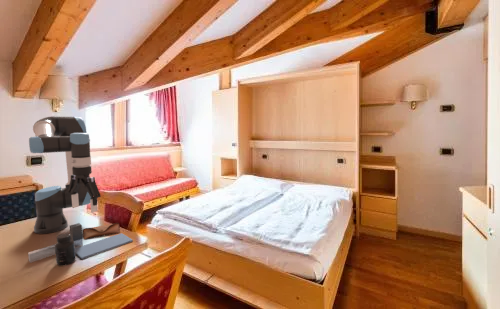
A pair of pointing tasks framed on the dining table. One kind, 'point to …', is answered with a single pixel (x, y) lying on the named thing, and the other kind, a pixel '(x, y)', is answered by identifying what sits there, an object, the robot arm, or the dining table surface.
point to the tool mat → (102, 245)
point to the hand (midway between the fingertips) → (84, 209)
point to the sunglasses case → (101, 231)
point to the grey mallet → (50, 250)
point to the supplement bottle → (64, 250)
